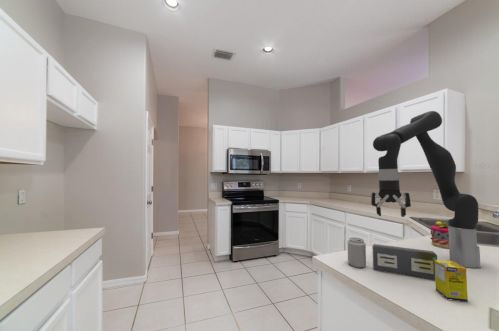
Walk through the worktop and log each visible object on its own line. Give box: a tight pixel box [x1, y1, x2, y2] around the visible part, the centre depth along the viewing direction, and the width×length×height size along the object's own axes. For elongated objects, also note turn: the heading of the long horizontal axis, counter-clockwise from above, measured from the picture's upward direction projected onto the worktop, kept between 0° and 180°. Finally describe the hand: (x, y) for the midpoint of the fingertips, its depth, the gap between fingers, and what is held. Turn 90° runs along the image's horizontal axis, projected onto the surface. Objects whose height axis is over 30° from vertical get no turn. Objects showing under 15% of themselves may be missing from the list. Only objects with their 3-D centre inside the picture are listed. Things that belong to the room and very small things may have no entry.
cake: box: [429, 220, 449, 250], centre depth 121 cm, size 10×11×15 cm
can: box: [347, 236, 367, 269], centre depth 95 cm, size 8×8×12 cm
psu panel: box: [371, 243, 438, 281], centre depth 87 cm, size 22×4×11 cm, turn 65°
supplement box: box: [434, 259, 469, 303], centre depth 71 cm, size 6×6×11 cm
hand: (390, 216), depth 90 cm, fingers open, 8 cm apart
